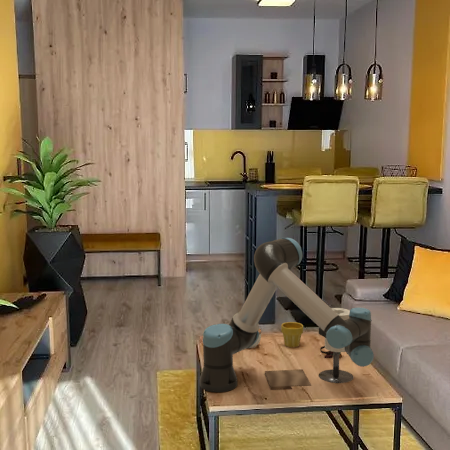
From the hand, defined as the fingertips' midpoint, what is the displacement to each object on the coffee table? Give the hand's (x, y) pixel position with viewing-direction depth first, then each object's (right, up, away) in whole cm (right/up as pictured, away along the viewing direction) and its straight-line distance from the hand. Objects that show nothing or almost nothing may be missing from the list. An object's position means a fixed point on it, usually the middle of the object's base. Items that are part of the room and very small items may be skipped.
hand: (335, 323), depth 240 cm
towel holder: (0, -22, -1) cm, 22 cm away
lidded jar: (-33, -17, +38) cm, 54 cm away
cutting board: (-20, -23, -2) cm, 30 cm away
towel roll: (0, -9, -3) cm, 10 cm away
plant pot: (-13, -17, +39) cm, 44 cm away
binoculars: (+2, -19, +22) cm, 29 cm away
